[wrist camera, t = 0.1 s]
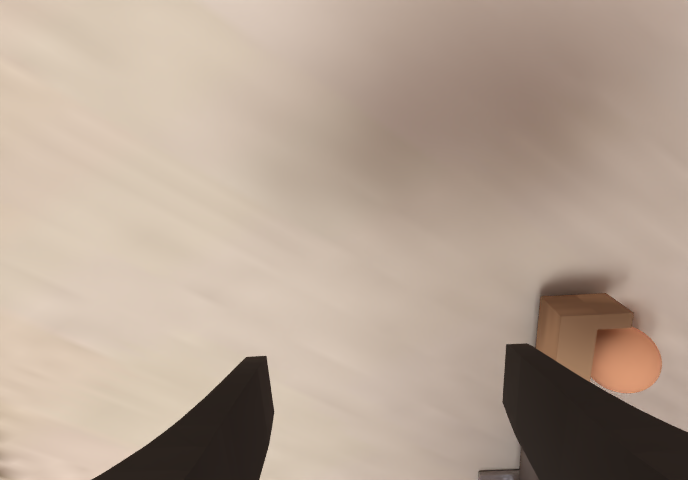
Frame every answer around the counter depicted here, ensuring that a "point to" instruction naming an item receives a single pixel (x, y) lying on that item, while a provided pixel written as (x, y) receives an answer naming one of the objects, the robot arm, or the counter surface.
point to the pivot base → (499, 475)
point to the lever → (574, 336)
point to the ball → (625, 360)
